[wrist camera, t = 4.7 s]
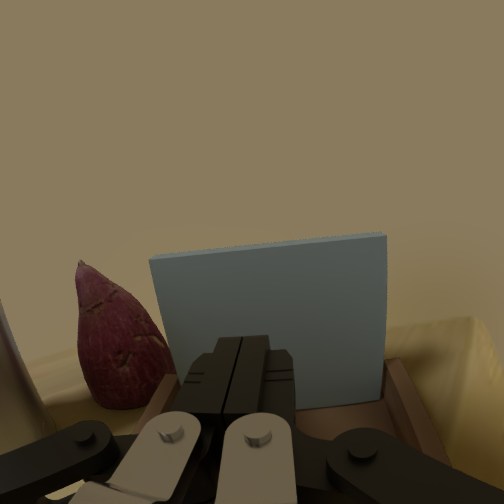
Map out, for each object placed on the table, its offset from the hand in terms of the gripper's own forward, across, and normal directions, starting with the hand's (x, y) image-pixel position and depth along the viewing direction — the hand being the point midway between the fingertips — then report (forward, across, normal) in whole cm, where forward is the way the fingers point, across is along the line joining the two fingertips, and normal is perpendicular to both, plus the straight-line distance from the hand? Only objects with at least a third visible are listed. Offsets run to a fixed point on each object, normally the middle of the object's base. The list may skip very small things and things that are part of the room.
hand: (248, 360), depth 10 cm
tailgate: (+10, 0, +11) cm, 15 cm away
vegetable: (+16, +16, +13) cm, 26 cm away
